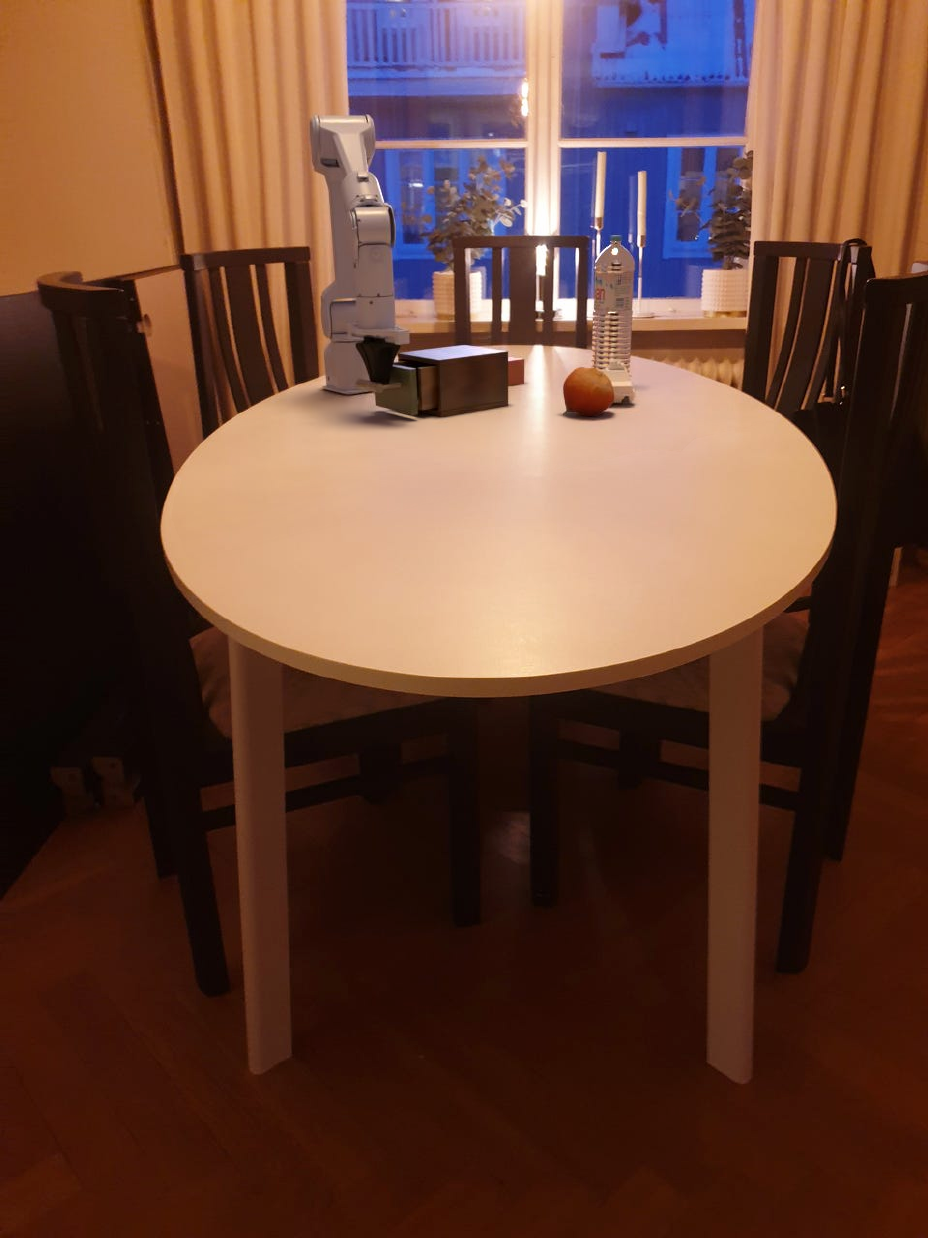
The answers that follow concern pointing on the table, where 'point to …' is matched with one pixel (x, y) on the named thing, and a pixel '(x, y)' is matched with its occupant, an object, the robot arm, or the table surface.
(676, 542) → the table surface
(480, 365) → the cabinet
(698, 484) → the table surface
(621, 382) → the toy car
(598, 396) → the fruit
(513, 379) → the block
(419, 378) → the drawer
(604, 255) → the water bottle
